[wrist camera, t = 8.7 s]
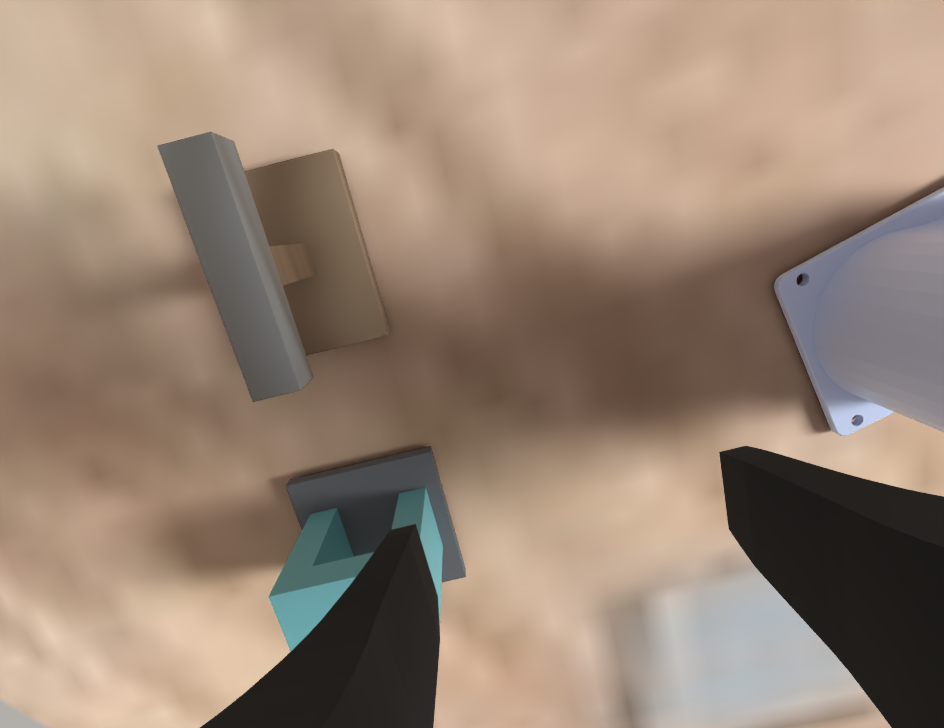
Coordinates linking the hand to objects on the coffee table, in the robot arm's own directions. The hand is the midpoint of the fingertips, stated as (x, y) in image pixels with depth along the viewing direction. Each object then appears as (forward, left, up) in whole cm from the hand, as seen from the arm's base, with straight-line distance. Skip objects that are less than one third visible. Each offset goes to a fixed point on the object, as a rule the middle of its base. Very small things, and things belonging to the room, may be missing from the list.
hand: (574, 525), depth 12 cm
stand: (+5, -9, -10) cm, 15 cm away
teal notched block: (+8, +2, -10) cm, 13 cm away
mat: (+9, +3, -10) cm, 14 cm away
